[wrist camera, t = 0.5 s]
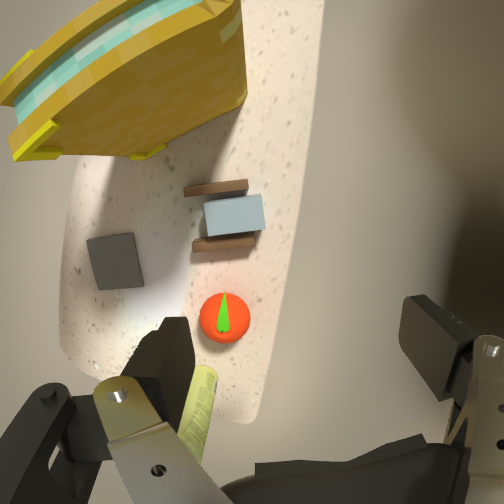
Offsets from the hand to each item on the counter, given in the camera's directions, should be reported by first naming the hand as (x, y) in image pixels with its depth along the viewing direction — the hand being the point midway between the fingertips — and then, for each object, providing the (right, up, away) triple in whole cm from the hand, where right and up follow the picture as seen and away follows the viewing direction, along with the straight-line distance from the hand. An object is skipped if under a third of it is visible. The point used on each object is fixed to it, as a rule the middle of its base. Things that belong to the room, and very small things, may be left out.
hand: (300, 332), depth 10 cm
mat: (-22, +1, +31) cm, 38 cm away
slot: (-6, +8, +29) cm, 31 cm away
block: (-4, +8, +29) cm, 31 cm away
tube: (-10, -18, +37) cm, 42 cm away
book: (-10, +22, +26) cm, 35 cm away
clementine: (-5, -5, +33) cm, 34 cm away
